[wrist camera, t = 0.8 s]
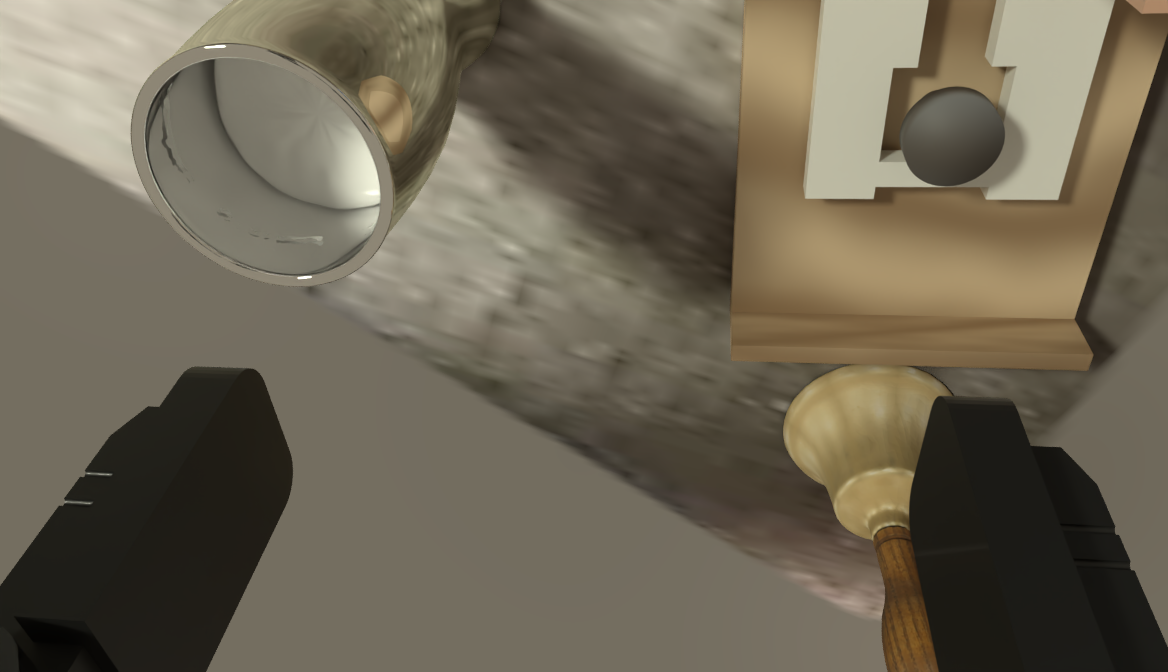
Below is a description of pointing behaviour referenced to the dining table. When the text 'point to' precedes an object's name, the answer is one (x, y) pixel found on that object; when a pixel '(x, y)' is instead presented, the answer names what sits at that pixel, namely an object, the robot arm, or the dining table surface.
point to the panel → (893, 40)
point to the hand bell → (873, 480)
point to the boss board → (922, 205)
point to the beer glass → (303, 128)
